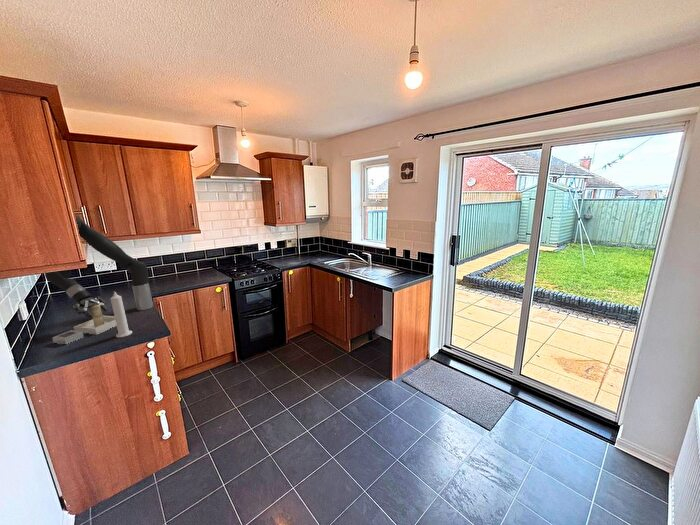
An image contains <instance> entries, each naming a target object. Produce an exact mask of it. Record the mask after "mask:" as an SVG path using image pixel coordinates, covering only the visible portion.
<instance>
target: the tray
mask: <svg viewBox="0 0 700 525" xmlns="http://www.w3.org/2000/svg"><path fill="white" fill-rule="evenodd" d="M102 316H103V320H104V325H101V326H99V327H95V326H94V322H93V318H92V319H90V320H88V321H85V322H83V323H79V324H77V325H74V326H73V331H82V332H83V334H86V333H89V334H88V335H99V334H101V333H103V332H106V331H107V330H110V328H111V329H113V328H115V327H117V324H116V320H115V316H114V315H104V314H102ZM112 327H113V328H112Z"/></svg>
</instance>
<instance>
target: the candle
mask: <svg viewBox="0 0 700 525" xmlns="http://www.w3.org/2000/svg"><path fill="white" fill-rule="evenodd" d="M110 302H111V306H112V311H113V316H115V320H116V324H117V326H116V328H117V332H118V333H116V335H115V337H116V338H118V339H119V338H125V337H127V336H131V335H132V334H133V331H132V330H130V329H129V325H128V321H127V320H128V319H127V316H126V312H125V307H124V303H123V298H122V295H118V294H117V292H116V291H113V295H112V296H111V297H110Z"/></svg>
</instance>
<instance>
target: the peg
mask: <svg viewBox="0 0 700 525" xmlns="http://www.w3.org/2000/svg"><path fill="white" fill-rule="evenodd" d="M89 309H90V313H91V314H92V317H91V318H92V319H93V322H94V326H95V327H99V326H101V325H104V320H103V313H102V309H101V307H100V305H96V306H92V307H90V308H89Z"/></svg>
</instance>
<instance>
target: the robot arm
mask: <svg viewBox="0 0 700 525" xmlns="http://www.w3.org/2000/svg"><path fill="white" fill-rule="evenodd" d="M74 215H75V216H76V221H77V224H78V229H79V234H80V236H79V237H80V238H82V239H83V240H84V241H85V242H86V243H87V244H88V245H89V246H90V247H91V248H93V249H94V250H95V251H97V252H99V253H100V254H101V255H103V256H105V257H107V258H109V259H110V260H111V261H113V262H116V263H117V264H119V265H120V266H121V267H123V268H124V269H125V270H126V271H128V272H129V274H131V282H130V283H131V287H132V291H133V297H134V300H135V306H136V310H137V311H145V310H149V309H152V308H153V307H154V303H153V298H152V292H151V289H150V288H151V287H150V283H149V279H150V278H149V270H148V266H147V265H146V263H145V262H143V261H140V260H137V259H135V258H133V257H132V256H130V255H129V254H127V253H126V252H125V251H124V250H123V249H122V248H121V247H120V246H119V245H118V244H116V243H115V242H114V241H113V240H111V239H110V238H108V237H107V236H105V235H103V234H102V233H100V232H98V231H96V230H95V229H94V228H92V227H91V226H89V224H87V223H86V222H85V221H84V220H82V219H81V218H80V217H79V216H78V215H76V214H74ZM71 275H72V270H69V271H60V272H52V273H44V277H45V279H46V280H47V281H48V282H50V283H51V284H53V285H55V286H57V287H59V288H60V289H62V290H63V291H64V292H65V294H66V295H68V297H69V298H70V299H72V301H73V302H74V304H73V306H72V308H73V310H74V311H75V312H76V313H77V314H78V315H81V314H84V315H85V317H87V318H89V319H90V318H92V314H91V311H89V310H88V309H90V307H92V306H96V305H100V308H101V311H103V312H108V310H109V309H108V307H107V306H106V304H107V301H106V300H105V299H103V298H102V297H101V296H100V295H99V296H96V297H95V298H94V297H93V295H92V294H91V293H90V292H89V291H87V290H86V288H84V287H83V286H82V285H81V284H79V283H78V282H77V281H76V280H75V279H74V278H70V277H71Z"/></svg>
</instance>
